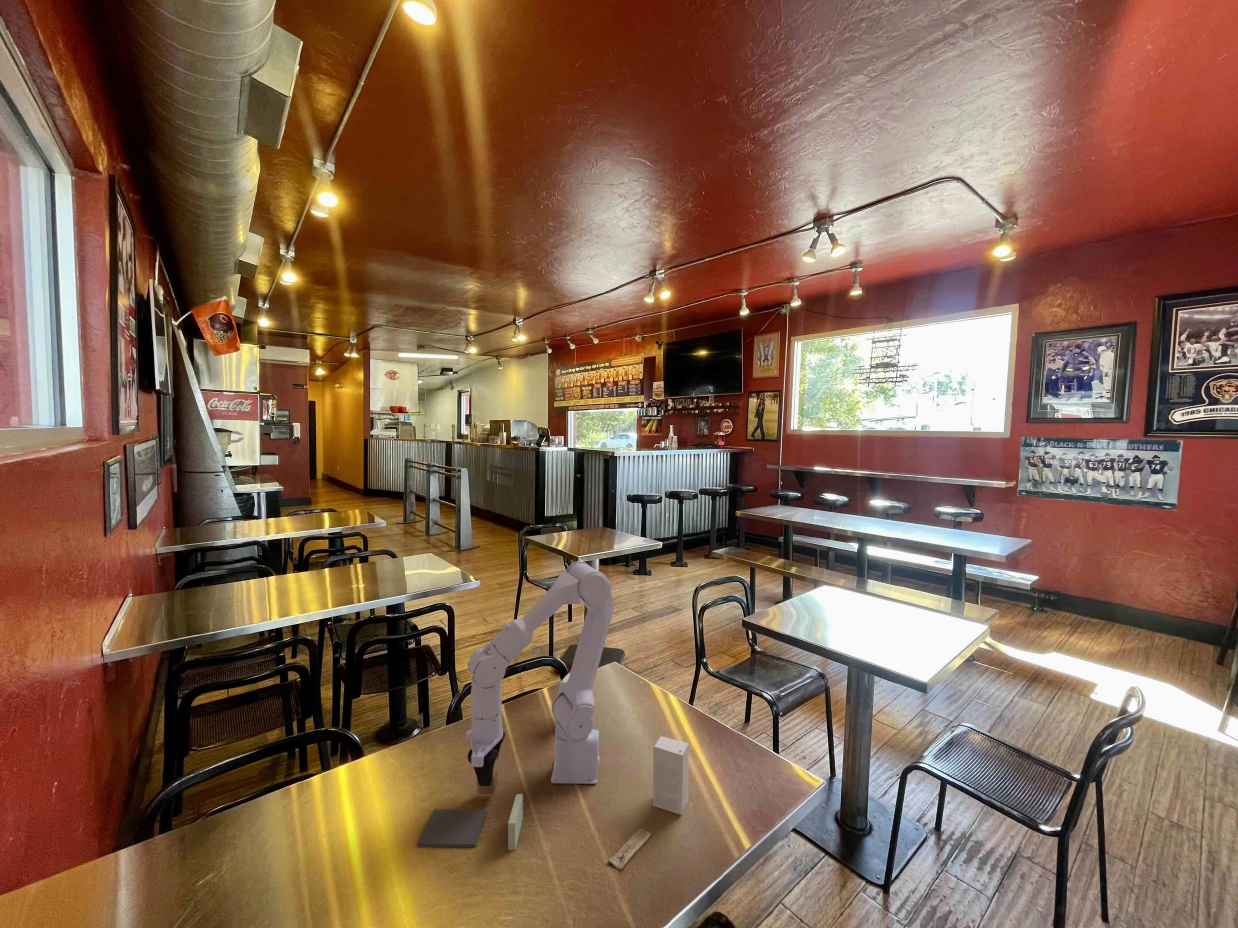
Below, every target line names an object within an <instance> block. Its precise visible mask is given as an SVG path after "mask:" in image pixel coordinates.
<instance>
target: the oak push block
mask: <svg viewBox="0 0 1238 928" xmlns="http://www.w3.org/2000/svg"><path fill="white" fill-rule="evenodd" d="M490 751H497V750H490ZM498 770H499V769H498V761H497V758H496V760H495V763H494V767H493V775H492V781H491V784H490V786H479V783H478V780H477V779H476V794H477V795H478V796H479V795H480V796H481V795H482V796H483V795H484V796H485V795H486V796H487V795H491V796H492V795H495V792H496V790H497V786H498V784H499V783H498V782H499V781H498V775H499V774H498Z"/></svg>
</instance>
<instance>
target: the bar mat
mask: <svg viewBox="0 0 1238 928" xmlns="http://www.w3.org/2000/svg"><path fill="white" fill-rule="evenodd" d="M487 813H488V811H487V809H433V810H432V812H431V814H430V817H429V819H428V821H427V822H426V824H425V826H424V829H423V831H422V833H421V834H420V837H419V839H418V841H417V843H416V845H417V847H440V848H441V847H442V848H443V847H444V848H446V847H448V848H453V847H455V848H475V847H476V845H477V842H478V839H479V837H480V834H481V831H482V827H483V824H484V821H485V819H486V817H487Z"/></svg>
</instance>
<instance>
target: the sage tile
mask: <svg viewBox="0 0 1238 928" xmlns="http://www.w3.org/2000/svg"><path fill="white" fill-rule="evenodd" d="M515 794H516V793H515ZM523 800H524V794H523V793H517V794H516V795H515V798H514V802H513V805H512V808H511V812H510V815H509V819H508V821H507V822H508V823H507V831H508V832H507V845H508V846H507V847H508V848H507V849H508V851H516V848H517V845H518V840H519V837H520V833H521V829H522V824H523V821H524V814H523V813H524V808H523V807H524V806H523V805H524V804H523V802H524V801H523Z"/></svg>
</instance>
